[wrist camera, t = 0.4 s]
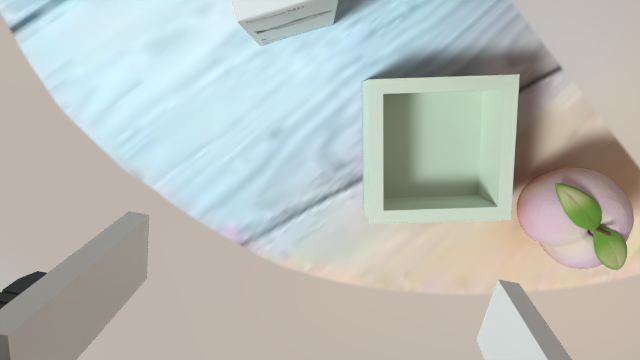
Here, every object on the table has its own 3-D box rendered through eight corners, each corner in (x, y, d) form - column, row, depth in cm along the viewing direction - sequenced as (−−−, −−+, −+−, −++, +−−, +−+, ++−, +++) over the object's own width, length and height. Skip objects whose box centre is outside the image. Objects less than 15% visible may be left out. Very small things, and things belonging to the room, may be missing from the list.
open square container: (361, 82, 39) (368, 79, 34) (491, 77, 39) (519, 74, 34) (363, 207, 41) (369, 224, 36) (485, 204, 41) (510, 219, 36)
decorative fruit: (604, 200, 41) (693, 231, 32) (544, 258, 43) (612, 305, 33) (541, 139, 40) (613, 151, 30) (481, 200, 41) (532, 231, 32)
